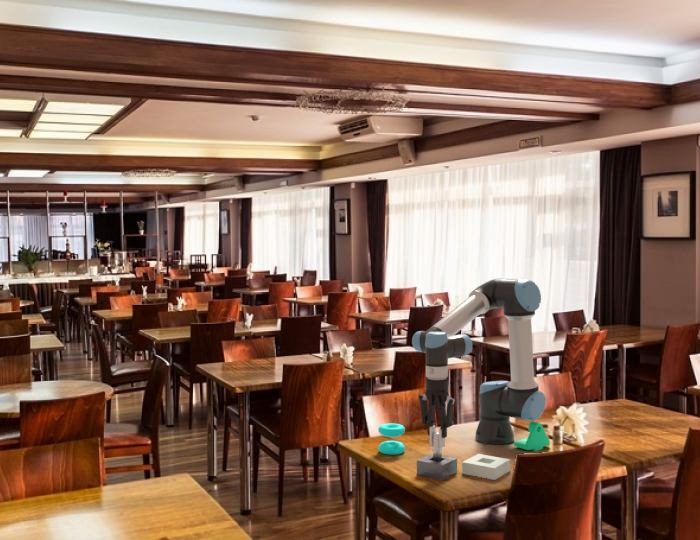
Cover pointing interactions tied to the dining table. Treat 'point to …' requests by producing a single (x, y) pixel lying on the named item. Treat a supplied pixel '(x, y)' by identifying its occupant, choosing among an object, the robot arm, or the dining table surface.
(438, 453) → the steel pin
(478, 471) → the socket plate
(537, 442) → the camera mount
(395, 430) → the donuts
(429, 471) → the mount block
